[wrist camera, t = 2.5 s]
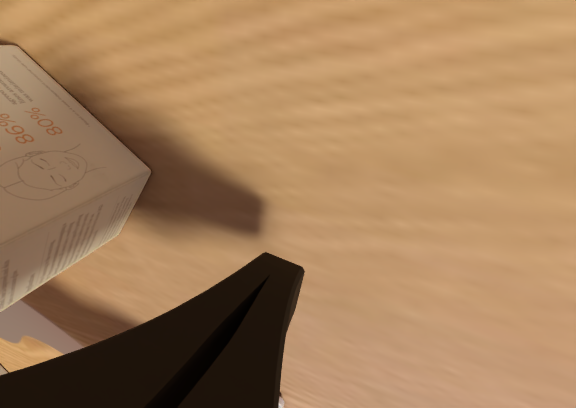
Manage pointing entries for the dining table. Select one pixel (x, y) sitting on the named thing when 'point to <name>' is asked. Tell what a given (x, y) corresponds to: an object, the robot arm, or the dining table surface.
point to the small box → (55, 178)
